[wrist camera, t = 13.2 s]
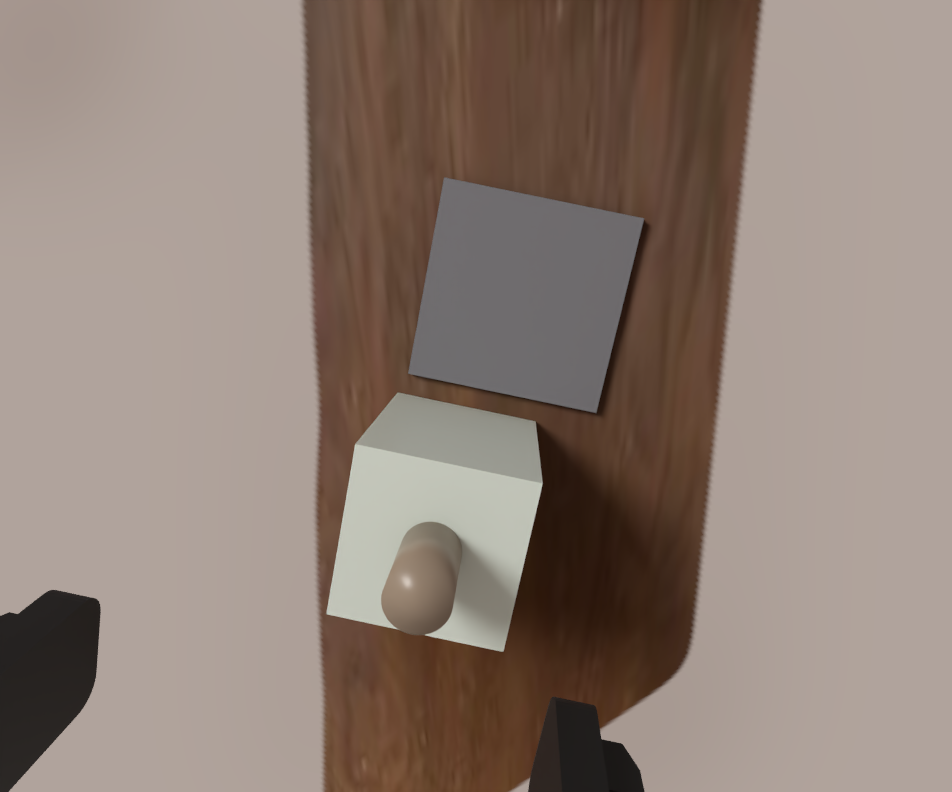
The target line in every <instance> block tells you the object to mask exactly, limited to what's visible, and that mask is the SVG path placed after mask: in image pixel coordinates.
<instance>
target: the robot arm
mask: <svg viewBox="0 0 952 792" xmlns="http://www.w3.org/2000/svg"><path fill="white" fill-rule="evenodd" d="M99 626H100V604H99V601H98V600H97V599H95V598H90V597H86V596H80V595H76V594H71V593H67V592H62V591H57V590H50V591H48V592H46V593H45V594H43V595H42V596H41V597H39V598H38V599H37V600H35V601H34V602H33V603H32V604H30V605H29V606H28V607H26V608H25V609H24V610H23V611H21V612H20V613H19V614H14V613H10V612H9V613H7V614H4V615H2V616H0V792H9V790H10V789H11V788H12V787H13V786H14V785H15V784H16V783H17V781H18V780H19V779H20V778H21V777H22V776H23V775H24V774H25V773H26V772H27V771H28V769H29V768H30V767H31V766H32V765H33V764H34V763H35V762H36V761H37V759H38V758H39V757H40V756H41V755H42V754H43V753H44V751H46V749H47V748H48V747H49V746H50V745H51V744H52V743H53V742H54V740H56V738H57V737H58V736H59V735H60V734H61V733H62V732H63V731H64V729H65V728H66V727H67V726H68V725H69V724H70V723H71V722H72V721H73V719H74V718H75V717H76V716H77V715H78V714H79V713H80V711H81V710H82V709H83V707H84V705H85V704H86V702H87V700H88V698H89V696H90V694H91V691H92V688H93V686H94V682H95V678H96V668H97V655H98V639H99ZM528 792H644V788H643V783H642V779H641V774H640V770H639V769H638V767H637V765H636V764H635V762H634V761H633V759H632V758H631V756H630V755H629V753H628V752H627V750H626V749H625V747H624V746H623V744H621V743H616V742H611V741H606V740H602V739H601V735H600V728H599V722H598V715H597V710H596V707H595V706H594V705H590V704H586V703H581V702H576V701H571V700H567V699H562V698H557V697H552V698H551V700H550V703H549V706H548V710H547V713H546V717H545V721H544V725H543V729H542V733H541V737H540V740H539V744H538V748H537V752H536V756H535V760H534V764H533V768H532V772H531V777H530V783H529V790H528Z"/></svg>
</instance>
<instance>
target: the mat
mask: <svg viewBox="0 0 952 792" xmlns="http://www.w3.org/2000/svg"><path fill="white" fill-rule="evenodd" d="M643 221H644V218H639V217H634V216H629V215H624V214H620V213H615V212H610V211H605V210H600V209H595V208H590V207H586V206H581V205H576V204H571V203H566V202H561V201H556V200H551V199H547V198H542V197H537V196H532V195H527V194H522V193H517V192H513V191H508V190H503V189H498V188H493V187H488V186H483V185H478V184H474V183H469V182H464V181H459V180H454V179H449V178H444V182H443V187H442V192H441V198H440V203H439V209H438V214H437V220H436V225H435V231H434V236H433V242H432V247H431V252H430V258H429V263H428V269H427V274H426V280H425V285H424V291H423V296H422V301H421V307H420V312H419V318H418V323H417V329H416V334H415V340H414V345H413V351H412V356H411V361H410V367H409V372H408V374H412V375H417V376H422V377H427V378H431V379H436V380H441V381H446V382H450V383H455V384H460V385H465V386H470V387H474V388H479V389H484V390H489V391H493V392H498V393H503V394H508V395H513V396H517V397H522V398H527V399H532V400H536V401H541V402H546V403H551V404H556V405H560V406H565V407H570V408H575V409H579V410H584V411H589V412H594V413H596V412H597V408H598V404H599V400H600V396H601V392H602V388H603V384H604V379H605V375H606V371H607V367H608V363H609V359H610V355H611V351H612V347H613V343H614V339H615V335H616V331H617V327H618V323H619V319H620V315H621V311H622V306H623V302H624V298H625V294H626V290H627V286H628V282H629V278H630V274H631V270H632V266H633V262H634V258H635V254H636V250H637V246H638V242H639V238H640V233H641V229H642V225H643Z"/></svg>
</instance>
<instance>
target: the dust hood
mask: <svg viewBox="0 0 952 792" xmlns="http://www.w3.org/2000/svg"><path fill="white" fill-rule="evenodd" d="M542 485H543V481H542V473H541V464H540V455H539V446H538V438H537V429H536V421H531V420H526V419H522V418H517V417H512V416H507V415H503V414H498V413H493V412H488V411H484V410H479V409H474V408H469V407H464V406H460V405H455V404H450V403H445V402H441V401H436V400H431V399H426V398H421V397H417V396H412V395H407V394H402V393H397V394H396V395H395V396H394V398H393V399H392V400H391V401H390V403H389V404H388V405H387V406H386V407H385V409H384V410H383V411H382V412H381V414H380V415H379V416H378V417H377V418H376V420H375V421H374V422H373V423H372V424H371V426H370V427H369V428H368V429H367V431H366V432H365V433H364V434H363V435H362V437H361V438H360V439H359V440H358V442H357V443H356V444H355V449H354V455H353V461H352V467H351V473H350V479H349V485H348V491H347V496H346V502H345V508H344V514H343V520H342V526H341V532H340V538H339V543H338V549H337V555H336V561H335V567H334V573H333V579H332V585H331V590H330V596H329V602H328V608H327V614H328V615H333V616H338V617H342V618H347V619H352V620H356V621H361V622H366V623H370V624H375V625H380V626H384V627H389V628H394V629H398V630H400V631H403V632H405V633H408V634H413V635H426V636H431V637H436V638H440V639H445V640H450V641H454V642H459V643H464V644H468V645H473V646H478V647H482V648H487V649H492V650H497V651H501V652H503V651H504V647H505V642H506V638H507V634H508V630H509V625H510V621H511V617H512V613H513V608H514V604H515V600H516V596H517V591H518V587H519V583H520V578H521V574H522V570H523V566H524V561H525V557H526V553H527V549H528V544H529V540H530V536H531V532H532V527H533V523H534V519H535V514H536V510H537V506H538V502H539V497H540V493H541V489H542Z"/></svg>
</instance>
